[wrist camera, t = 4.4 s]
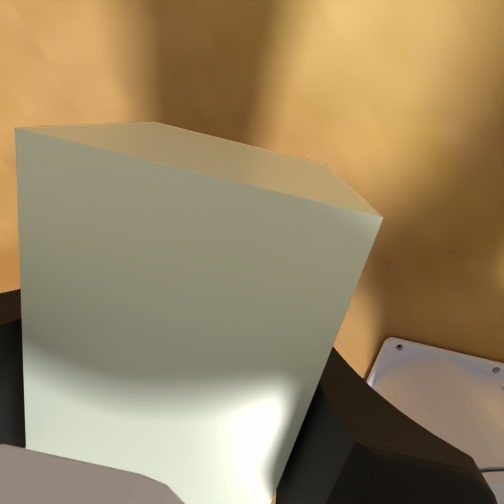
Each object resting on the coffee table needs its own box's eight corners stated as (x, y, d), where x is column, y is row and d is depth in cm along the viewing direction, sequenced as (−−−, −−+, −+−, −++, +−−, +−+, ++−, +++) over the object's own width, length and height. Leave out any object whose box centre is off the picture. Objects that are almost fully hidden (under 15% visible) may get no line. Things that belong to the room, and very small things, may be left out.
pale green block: (326, 164, 12) (383, 217, 6) (250, 410, 16) (235, 593, 10) (153, 121, 11) (14, 127, 5) (124, 382, 16) (29, 550, 10)
